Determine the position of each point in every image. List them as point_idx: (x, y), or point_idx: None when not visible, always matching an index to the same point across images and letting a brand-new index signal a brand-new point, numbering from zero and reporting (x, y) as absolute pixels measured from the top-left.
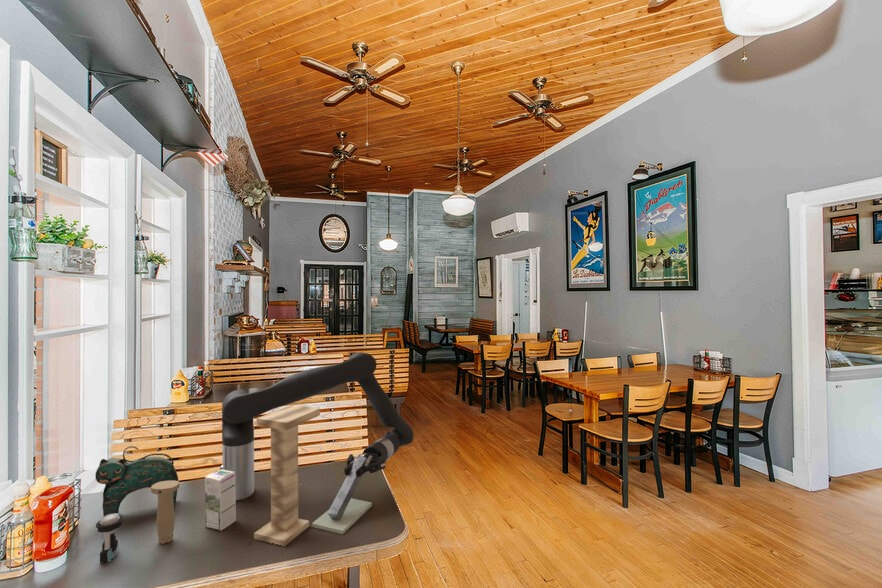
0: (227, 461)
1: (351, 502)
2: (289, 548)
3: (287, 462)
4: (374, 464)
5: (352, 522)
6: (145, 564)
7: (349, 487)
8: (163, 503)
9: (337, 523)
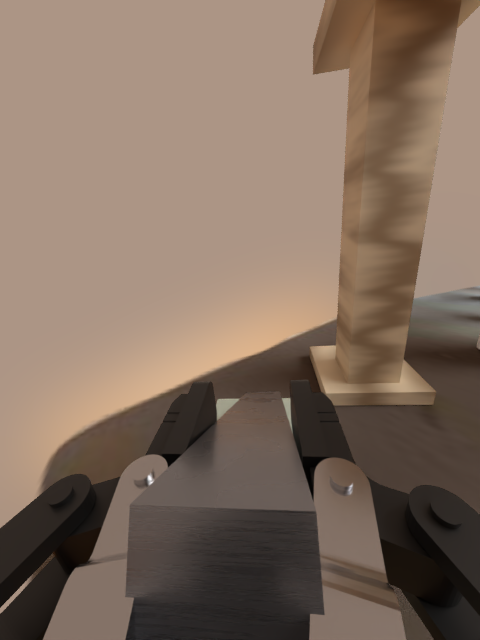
0: None
1: None
2: (297, 356)
3: (345, 189)
4: (19, 518)
5: None
6: (438, 305)
7: (237, 405)
8: None
9: None
